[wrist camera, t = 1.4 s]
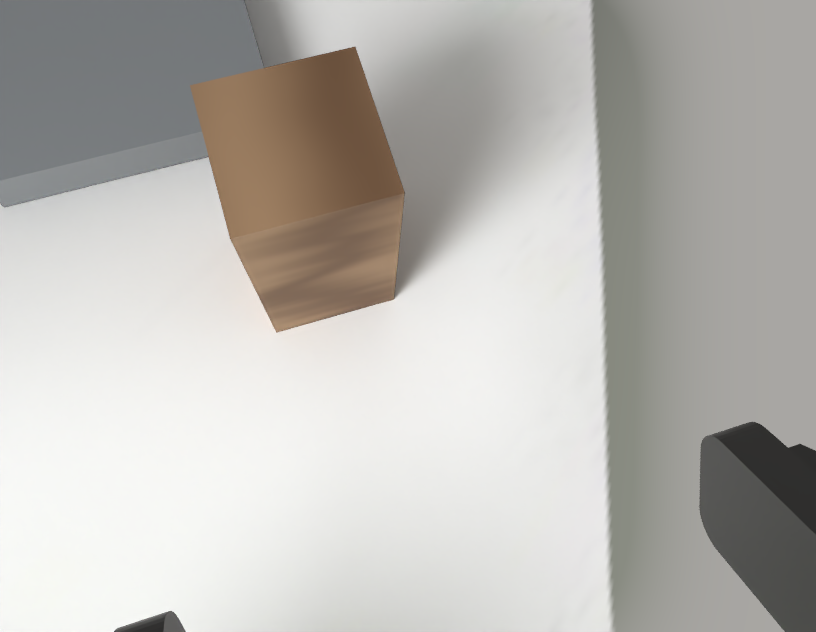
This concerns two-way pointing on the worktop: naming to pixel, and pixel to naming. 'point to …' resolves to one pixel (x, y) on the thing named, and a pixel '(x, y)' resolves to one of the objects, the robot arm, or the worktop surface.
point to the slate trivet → (108, 87)
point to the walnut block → (305, 185)
